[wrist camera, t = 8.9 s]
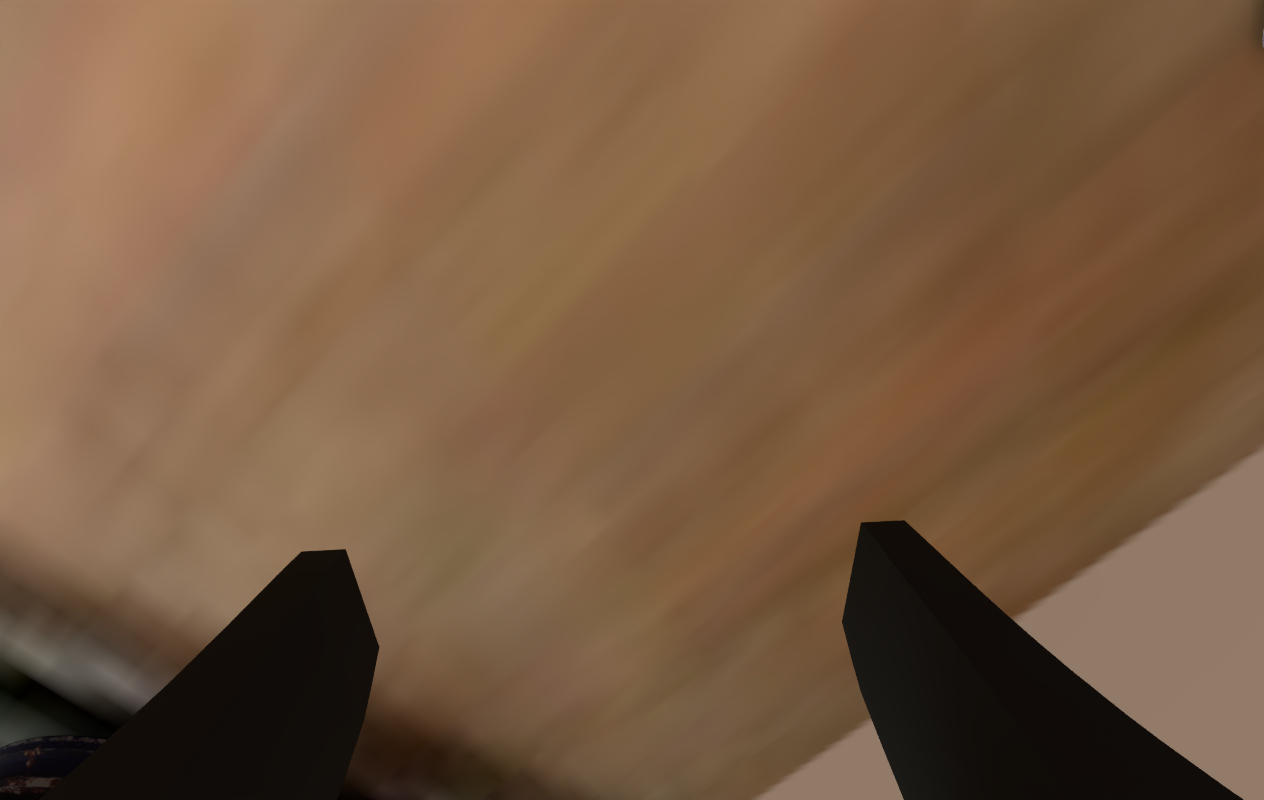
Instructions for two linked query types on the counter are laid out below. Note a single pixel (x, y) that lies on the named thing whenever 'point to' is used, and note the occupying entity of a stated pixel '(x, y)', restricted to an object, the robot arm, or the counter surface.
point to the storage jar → (41, 764)
